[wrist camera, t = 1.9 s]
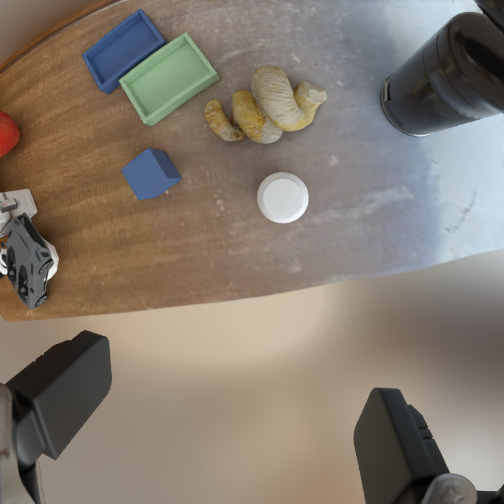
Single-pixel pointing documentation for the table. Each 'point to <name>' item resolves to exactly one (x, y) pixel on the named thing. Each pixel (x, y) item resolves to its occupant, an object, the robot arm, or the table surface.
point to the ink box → (15, 207)
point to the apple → (7, 133)
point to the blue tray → (123, 50)
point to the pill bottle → (282, 197)
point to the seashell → (266, 108)
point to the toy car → (28, 261)
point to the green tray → (168, 79)
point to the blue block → (151, 174)
